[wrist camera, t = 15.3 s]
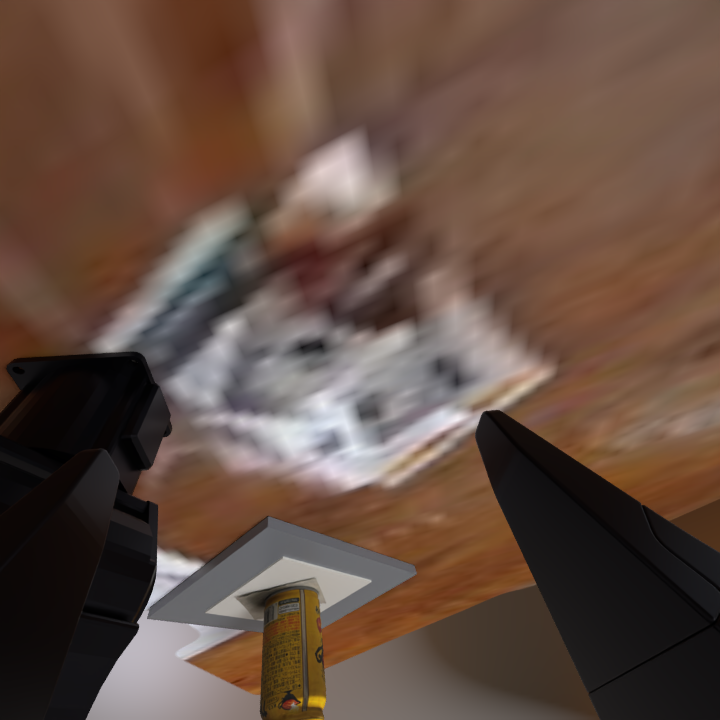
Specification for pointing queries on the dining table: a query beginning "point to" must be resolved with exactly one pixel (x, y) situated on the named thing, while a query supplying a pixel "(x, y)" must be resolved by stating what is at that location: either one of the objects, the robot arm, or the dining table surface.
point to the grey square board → (280, 577)
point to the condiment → (290, 650)
